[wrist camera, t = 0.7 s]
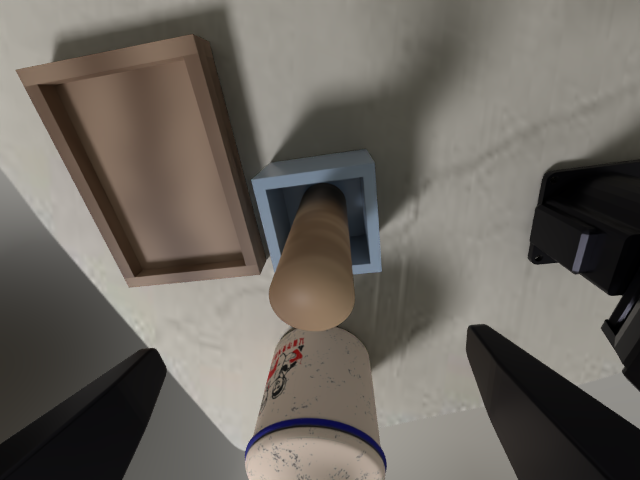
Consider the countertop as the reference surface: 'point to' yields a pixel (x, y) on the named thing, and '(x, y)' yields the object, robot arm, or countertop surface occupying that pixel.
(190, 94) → the tray
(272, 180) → the holder cup
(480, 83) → the countertop surface
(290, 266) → the dowel pin
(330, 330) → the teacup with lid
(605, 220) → the robot arm
